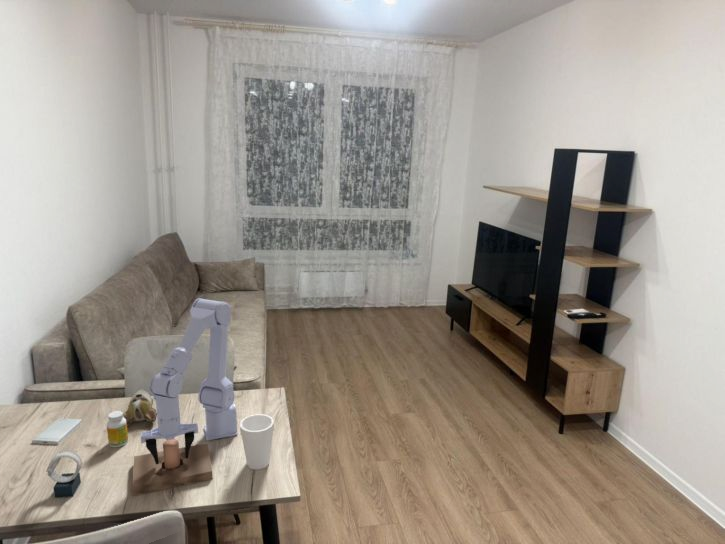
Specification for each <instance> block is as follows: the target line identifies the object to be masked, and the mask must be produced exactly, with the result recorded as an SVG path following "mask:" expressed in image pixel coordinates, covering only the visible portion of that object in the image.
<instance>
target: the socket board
mask: <svg viewBox="0 0 725 544" xmlns="http://www.w3.org/2000/svg"><path fill="white" fill-rule="evenodd" d="M157 452H158V459H159V464H156V463H155V460H154V457H153V456H152V454H151V453H146V454H140V455H135V456H133V470H132V482H131V483H132V484H131V485H132V487H131V489H132V496H133V497H134V496H138V495H144V494H148V493H152V492H157V491H162V490H165V489H166V490H167V489H172V488H177V487H181V486H186V485H187V486H188V485H191V484H196V483H200V482H204V481H206V482H207V481H210V480H213V468H212V461H211V455H210V451H209V444H208V442H205V443H199V444H195V445H191V447H190V450H189V454H188V458H187V459H186V458H185V446H184V447H179V456H180V467H179V468H178V469H174V470H169V471H168V470H165V463H164V451H163V450H162V451H157Z"/></svg>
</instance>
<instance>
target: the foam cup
mask: <svg viewBox="0 0 725 544" xmlns="http://www.w3.org/2000/svg"><path fill="white" fill-rule="evenodd" d="M274 431H275V421H274V418H273V417H271V416H270V415H267V414H264V413H254V414H251V415H247V416H246V417H243V419H241V421H240V422H239V432H240V436H241V439H242V440H241V441H242V445H243V450H244V454H245V455H244V456H245V459H246V464H247V465H246V466H247V467H248V468H249V469H250V470H253V471H254V470H255V471H256V470H263V469H265V468H266V467H268V466H269V464H270V460H271V453H272V444H273V436H274Z"/></svg>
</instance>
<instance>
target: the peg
mask: <svg viewBox="0 0 725 544" xmlns="http://www.w3.org/2000/svg"><path fill="white" fill-rule="evenodd" d="M179 448H180V445H179V440H178V439H175V438H174V439H172V440H165V441H164V442H163V443H162V449H163V450H162V451H164V463H165V470H168V471H169V470H174V469H178V468H179V467H180V456H179Z"/></svg>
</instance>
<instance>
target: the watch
mask: <svg viewBox="0 0 725 544" xmlns="http://www.w3.org/2000/svg"><path fill="white" fill-rule="evenodd" d="M62 458H68V459H70V460H73V461H74V462H75V463H76V469H75V471H74V472H70V473H69V472H68V473H61V475H60V474H59V473H57V472H56V471H55V469H56V467H57V466H58V464H59V463H60V461H61V459H62ZM82 467H83V461H82V458H81V456H80V455H79V454H78V453H76V452H74V451H71V450H61V451H60V452H56V453H55V455H54V456H53V457H52V459H51V461H50V462H49V464H48V466H47V468H46V471H45V472H47V476H48V477H49V478H50V479H51V480H52V481H54V482H56V483H55V484H54V486H53V494H54V495H53V496H54V499H59V498H71V497H74V495H75V494H76V492H77V490H78V488H79V487H80V485H81V483H82V482H81V474H80V471H81V469H82Z"/></svg>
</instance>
